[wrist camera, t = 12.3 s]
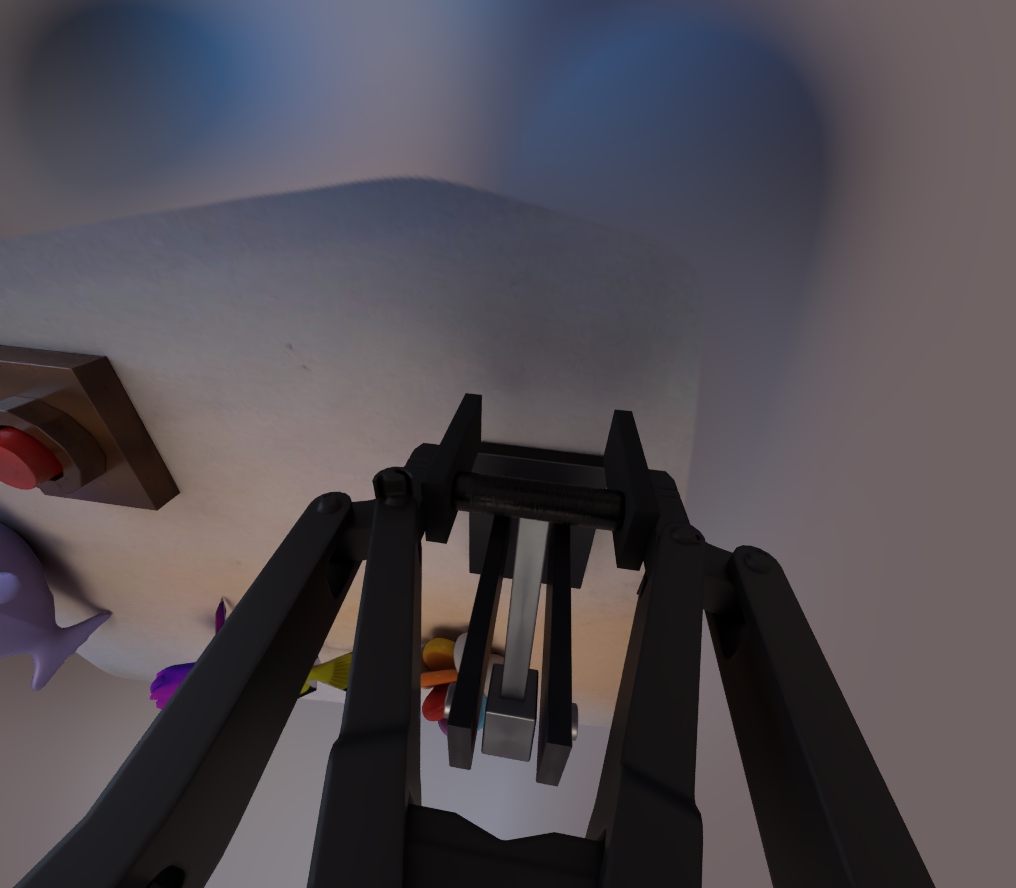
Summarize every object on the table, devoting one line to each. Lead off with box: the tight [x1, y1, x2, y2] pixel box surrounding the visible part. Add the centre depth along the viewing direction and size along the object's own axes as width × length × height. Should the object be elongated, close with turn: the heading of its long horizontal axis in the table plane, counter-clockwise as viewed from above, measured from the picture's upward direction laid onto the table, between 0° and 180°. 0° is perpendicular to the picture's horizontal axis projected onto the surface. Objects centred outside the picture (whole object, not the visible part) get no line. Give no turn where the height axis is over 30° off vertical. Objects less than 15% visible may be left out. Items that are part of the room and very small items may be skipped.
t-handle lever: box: [451, 471, 625, 762], centre depth 16 cm, size 13×6×2 cm, turn 177°
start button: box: [0, 426, 63, 489], centre depth 26 cm, size 4×4×2 cm
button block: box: [0, 345, 180, 511], centre depth 28 cm, size 12×10×4 cm
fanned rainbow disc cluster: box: [421, 633, 504, 735], centre depth 37 cm, size 8×10×7 cm
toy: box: [150, 597, 353, 709], centre depth 40 cm, size 12×19×10 cm, turn 84°
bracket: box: [444, 442, 607, 786], centre depth 22 cm, size 12×9×15 cm
